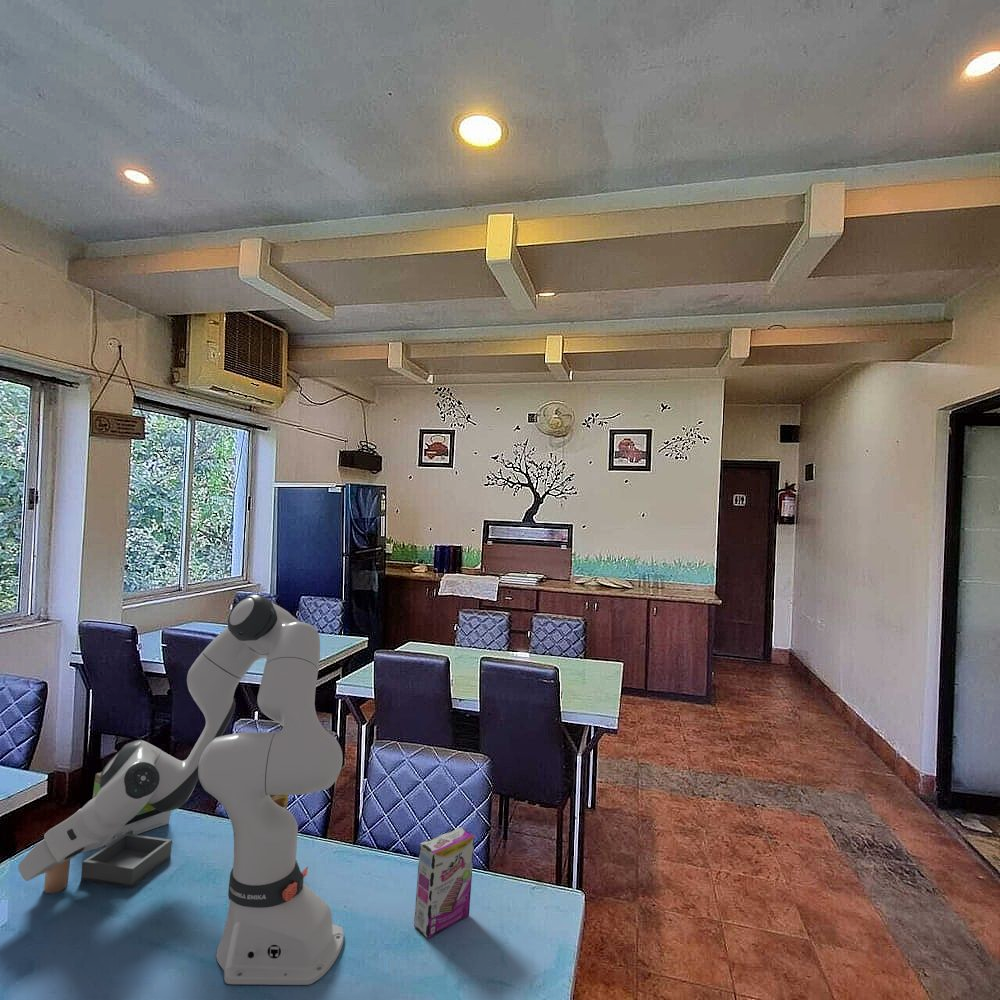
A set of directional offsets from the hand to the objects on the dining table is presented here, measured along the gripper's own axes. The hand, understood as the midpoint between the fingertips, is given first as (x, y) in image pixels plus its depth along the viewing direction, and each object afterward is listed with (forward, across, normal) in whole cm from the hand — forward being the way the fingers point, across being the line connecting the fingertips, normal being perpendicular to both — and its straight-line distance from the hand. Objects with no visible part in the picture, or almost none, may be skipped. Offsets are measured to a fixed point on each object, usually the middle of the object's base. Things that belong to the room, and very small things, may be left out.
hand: (56, 862), depth 122 cm
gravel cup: (+3, 0, +4) cm, 5 cm away
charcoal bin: (-2, -10, +9) cm, 14 cm away
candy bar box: (-54, -18, +61) cm, 83 cm away
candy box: (-19, -25, +27) cm, 41 cm away
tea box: (+8, -23, 0) cm, 25 cm away
